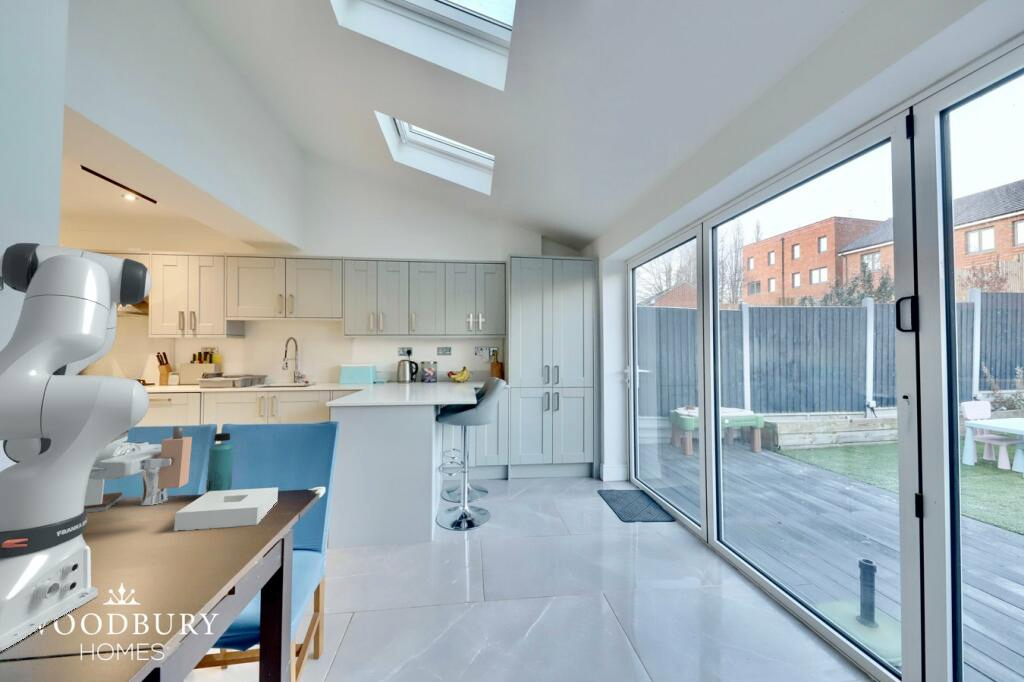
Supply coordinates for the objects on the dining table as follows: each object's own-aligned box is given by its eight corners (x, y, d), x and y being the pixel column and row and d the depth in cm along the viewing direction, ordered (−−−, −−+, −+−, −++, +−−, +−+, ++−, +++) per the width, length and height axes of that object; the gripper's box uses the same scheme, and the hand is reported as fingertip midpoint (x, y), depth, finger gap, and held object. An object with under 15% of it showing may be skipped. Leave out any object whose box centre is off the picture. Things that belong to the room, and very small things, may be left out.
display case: (105, 511, 109) (118, 386, 112) (51, 517, 104) (65, 386, 107) (121, 499, 119) (132, 384, 122) (72, 504, 114) (85, 384, 117)
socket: (256, 524, 101) (257, 507, 102) (173, 531, 96) (175, 512, 97) (277, 502, 119) (278, 487, 119) (208, 507, 114) (209, 491, 114)
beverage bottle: (235, 494, 125) (240, 432, 127) (218, 501, 118) (223, 435, 120) (217, 493, 126) (222, 431, 127) (198, 500, 119) (204, 434, 121)
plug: (179, 487, 98) (184, 427, 99) (157, 488, 97) (163, 428, 98) (188, 482, 103) (193, 425, 104) (167, 483, 101) (172, 425, 102)
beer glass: (146, 499, 119) (151, 449, 120) (174, 498, 121) (178, 449, 122) (132, 507, 112) (137, 454, 113) (161, 505, 114) (166, 453, 116)
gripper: (81, 456, 88) (152, 455, 91) (146, 441, 108) (203, 440, 111) (78, 485, 87) (149, 483, 90) (144, 464, 107) (201, 462, 110)
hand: (179, 459), depth 101 cm, fingers closed on plug, 5 cm apart
